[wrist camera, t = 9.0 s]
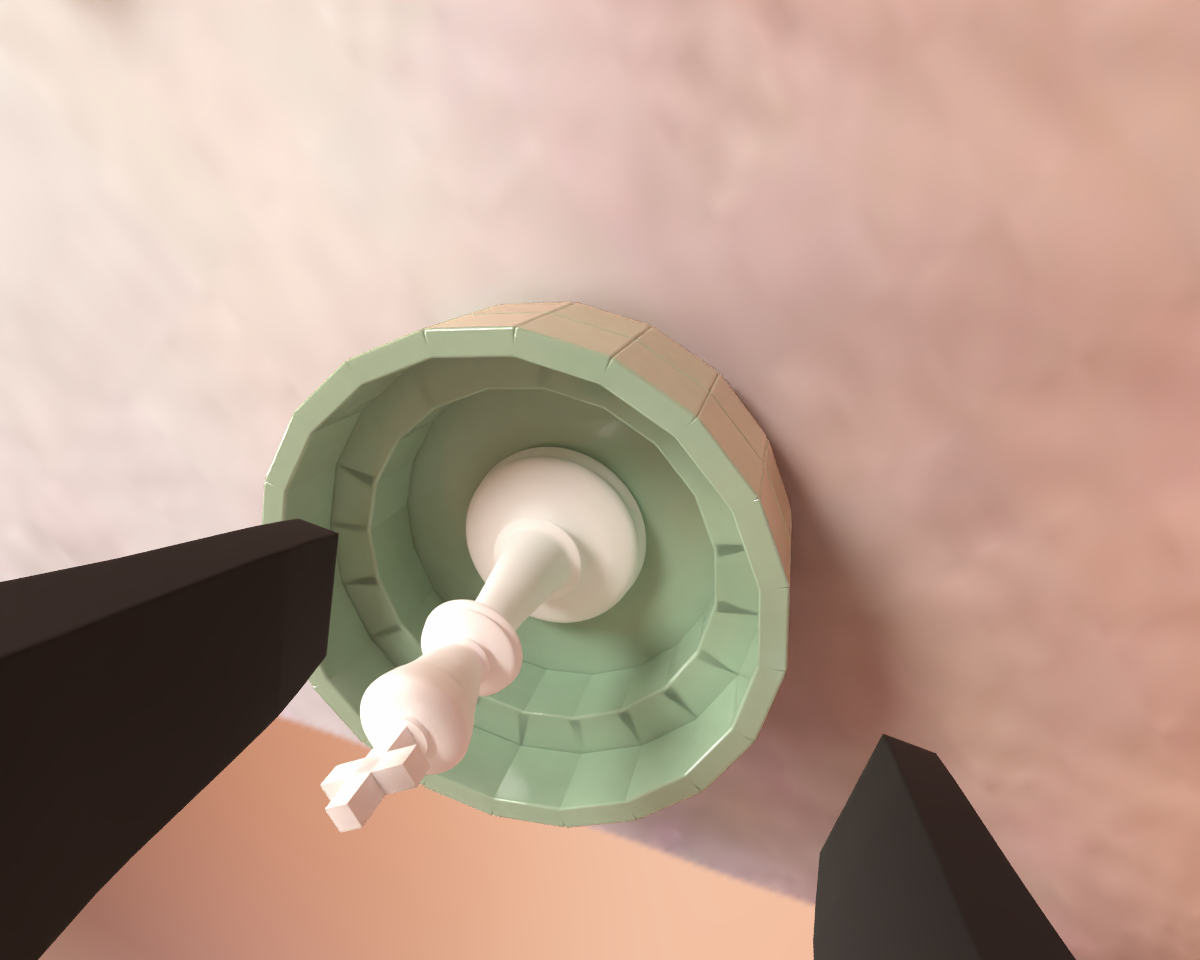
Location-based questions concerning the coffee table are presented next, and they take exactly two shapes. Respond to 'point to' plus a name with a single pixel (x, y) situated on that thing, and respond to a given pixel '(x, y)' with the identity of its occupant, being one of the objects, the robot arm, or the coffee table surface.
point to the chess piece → (495, 615)
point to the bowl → (550, 650)
